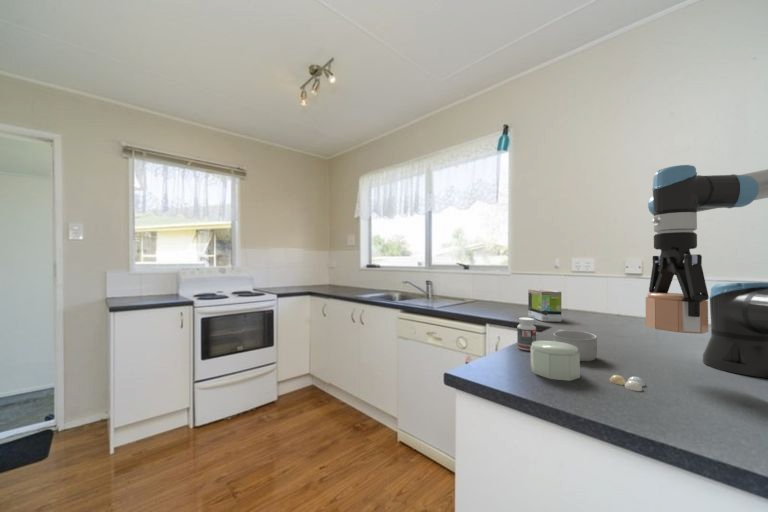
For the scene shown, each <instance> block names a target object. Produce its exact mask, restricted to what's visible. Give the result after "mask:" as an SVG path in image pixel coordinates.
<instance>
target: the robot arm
mask: <svg viewBox="0 0 768 512" xmlns="http://www.w3.org/2000/svg"><path fill="white" fill-rule="evenodd" d="M651 190H652V196H651V197H650V198H649V200H648V202H647V207H648V208H647V209H648V211H649V213H650V214H651V215H652V216H653V219H652V222H651V223H653V232H655V233H656V234H654V235H653V249H654V250H660V255H653V256H652V267H651V275H650V281H649V286H648V287H649V288H648V293H669V290H670V287H671V285H672V282H673V279H674V275H675V277H676V278H677V281H678V283H679V284H678V285H679V287H680V290H681V291H682V294H683V295H684V298H683V299H682V321H683V331H689V332H700V302H702V301H703V300H706V301H708V300H709V307H710V308H709V309H710V329H711V330H710V331H711V333H710V335H711V336H710V339H709V341H708V342H707V345H706V347H705V349H704V351H703V353H702V362H703V363H704V365H707V366H708V367H712V368H714V369H718V370H721V371H724V372H729V373H734V374H738V375H746V376H751V377H757V378H766V379H768V282H761V281H760V282H754V281H753V282H729V283H727V282H726V283H717V284H714V285H713V286H711V288H710V296H709V292H708V288H707V283H706V278H705V275H704V274H705V273H704V269H703V266H702V265H703V264H702V263H703V262H702V261H703V260H702V259H703V256H702V255H701V254H691V250H695V249H697V247H698V234H697V233H696V232H694V231H696V230H698V214H697V213H699V212H705V211H710V210H715V209H723V208H725V209H732V208H742V207H745V206H748V205H750V204H751V203H753V202H754V201H757V200H762V199H768V168H767V169H762V170H758V171H754V172H748V173H742V174H734V173H733V174H722V175H721V174H718V175H716V174H715V175H712V174H711V175H699V174H698V172H697V168H696V166H694V165H690V164H680V165H672V166H668V167H664V168H661V169H659V170H657V171H656V172H655V173H654V174H653V179H652V189H651Z"/></svg>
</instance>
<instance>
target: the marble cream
mask: <svg viewBox="0 0 768 512" xmlns="http://www.w3.org/2000/svg"><path fill="white" fill-rule="evenodd" d="M627 381H628V380H627ZM627 381H626V383H625V385H624V388H625V389H627V390H630V391H635V392H642V391H643V387H642V386H641V385H640V384H639V383H638V382H636V381H628V382H627Z"/></svg>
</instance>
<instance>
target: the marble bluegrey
mask: <svg viewBox="0 0 768 512" xmlns="http://www.w3.org/2000/svg"><path fill="white" fill-rule="evenodd" d="M628 381H636V382H638V383H639V384H640V385H641V386H642V388H643V387H645V382H644V380H643V379H641V378H640V377H638V376H630V377H629V378H628V379H627V381H626V382H628Z"/></svg>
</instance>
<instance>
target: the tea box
mask: <svg viewBox="0 0 768 512" xmlns="http://www.w3.org/2000/svg"><path fill="white" fill-rule="evenodd" d="M527 295H528V297H527V298H528V301H527V302H528V315H527V316H528V318H533V319H534V320H538V321H541V322H556V323H557V322H562V315H563V314H562V291H560V290H559V291H558V290H553V289H552V290H551V289H545V288H544V289H543V288H541V289H539V288H537V289H536V288H535V289H532V288H531V289H528V294H527Z"/></svg>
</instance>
